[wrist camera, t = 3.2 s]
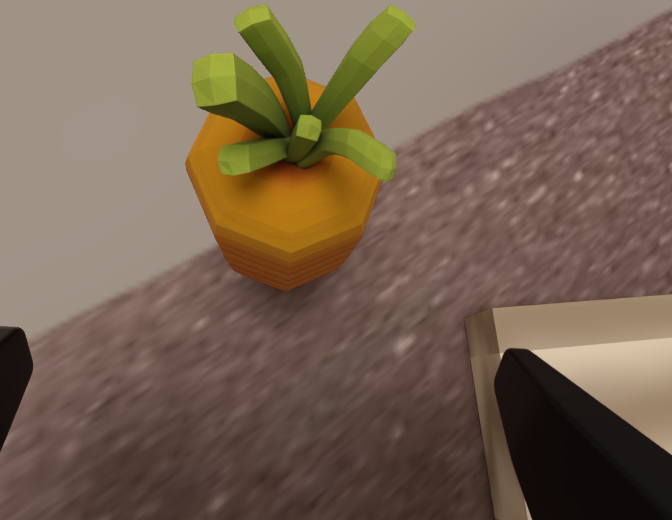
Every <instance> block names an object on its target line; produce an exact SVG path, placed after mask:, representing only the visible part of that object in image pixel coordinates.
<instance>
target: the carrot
mask: <svg viewBox="0 0 672 520" xmlns="http://www.w3.org/2000/svg"><path fill="white" fill-rule="evenodd" d="M234 24H235V26H236V28H237V30H238V32H239V33H240V35H241V36H242V37H243V39H244V40H245V41H246V43H247V44H248V45H249V47H250V48H251V49H252V51H253V52H254V53H255V55H256V56H257V57H258V59H259V60H260V61H261V62H262V64H263V65H264V66H265V67H266V69H267V70H268V71H269V72H270V74H271V75H272V77H269V78H266V79H263V78H262V77H261V76H260V75H259V73H257V71H256V70H255V69H254V68H253V67H252V66H250V65H249V64H247V63H246V62H244V61H243V60H242V59H240V58H239V57H238V56H236V55H235V54H233V53H226V54H209V55H207V56H205V57H202V58H200V59H198V60H195V61H194V63H193V74H192V88H193V92H194V96H195V100H196V104H197V107H199V108H201V109H203V110H206V111H208V112H210V113H209V115H208V117H207V119H206V121H205V123H204V125H203V127H202V129H201V131H200V133H199V135H198V137H197V139H196V141H195V142H194V144H193V146H192V148H191V150H190V152H189V154H188V157H187V160H186V163H185V164H186V170H187V173H188V175H189V178H190V180H191V182H192V184H193V187H194V189H195V191H196V194H197V196H198V199H199V201H200V203H201V206H202V208H203V210H204V213H205V215H206V218H207V220H208V222H209V225H210V227H211V229H212V232H213V234H214V237H215V239H216V241H217V243H218V245H219V247H220V249H221V251H222V253H223V255H224V257H225V258H226V260H227V261H228V263H229V264H230V266H231V267H232V269H233V270H234V271H236V272H238V273H239V274H241V275H243V276H246V277H249V278H251V279H254V280H256V281H259V282H262V283H264V284H267V285H269V286H272V287H275V288H277V289H280V290H282V291H285V292H286V291H289V290H291V289H293V288H296V287H298V286H300V285H303V284H305V283H307V282H310V281H312V280H314V279H317V278H319V277H321V276H324V275H326V274H328V273H330V272H332V271H335V270H337V269H338V268H339V267H340V266H341V265H342V264H343V262H344V261H345V260H346V259H347V258H348V257H349V255H350V254H351V252H352V251H353V249H354V248H355V246H356V245H357V244H358V242H359V241H360V239H361V237H362V235H363V232H364V229H365V226H366V224H367V221H368V218H369V216H370V213H371V210H372V207H373V205H374V202H375V199H376V197H377V194H378V191H379V188H380V186H381V183H382V181H386V182H388V181H390V180H392V179H393V176H394V173H395V170H396V154H395V153H394V152H393V151H392V150H390V149H389V148H388V147H387V146H386V145H384V144H383V143H381V142H379V141H378V140H376V139H375V137H374V135H373V133H372V131H371V129H370V127H369V125H368V123H367V121H366V119H365V117H364V115H363V113H362V111H361V109H360V107H359V105H358V104H357V102H356V100H355V98H354V96H355V95H356V94H357V93H358V92H359V91H360V90H361V88H362V87H363V86H364V85H365V84H366V83H367V81H369V79H370V78H371V77H372V76H373V75H374V74H375V73H376V71H377V70H378V69H379V68H380V67H381V66H382V65H383V64H384V63H385V61H387V59H388V58H389V57H390V56H391V55H392V54H393V53H394V52H395V51H396V50H397V49H398V48H399V47H400V46H401V45H402V44H403V43H404V41H405V40H406V39H407V37H408V36H409V35H410V33H411V32H412V31H413V30H414V28H415V27H416V23H415V21H413V20H412V19H411V18H410V17H409V16H408V15H407V14H406V13H405V12H404V11H402V10H400V9H398V8H396V7H395V6H392V5H390V6H388V7H387V8H386V9H385V10H384V11H383V12H382V13H381V14H380V15H378V16H377V17H376V18H375V19H374V20H372V21H371V22H370V24H369V25H368V26H367V27H366V29H365V30H364V31H363V32H362V34H361V35H360V36H359V37H358V38H357V40H356V41H355V42H354V43H353V45H352V46H351V48H350V49H349V51H348V52H347V54H346V56H345V57H344V59H343V60H342V62H341V64H340V65H339V67H338V68H337V70H336V72H335V73H334V75H333V77H332V78H331V80H330V81H329V83H328V85H327V86H323V85H321V84H318V83H316V82H313V81H310V80H308V79H306V77H305V73H304V69H303V65H302V61H301V59H300V57H299V55H298V53H297V52H296V50H295V48H294V46H293V44H292V42H291V40H290V38H289V37H288V35H287V33H286V32H285V30H284V28H283V27H282V26H281V24H280V23H279V21H278V20H277V19H276V17H275V16H274V14H273V13H272V12H271V10H270V9H269V7H268V6H267V5H266V4H263V5H258V6H253V7H249V8H247V9H246V10H244V11H243V12H242V13H240V14H239V15H237V16H236V17H235V20H234Z"/></svg>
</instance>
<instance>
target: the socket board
mask: <svg viewBox="0 0 672 520" xmlns="http://www.w3.org/2000/svg"><path fill="white" fill-rule="evenodd" d="M464 321H465V327H466V334H467V340H468V347H469V353H470V360H471V366H472V373H473V379H474V386H475V392H476V399H477V405H478V412H479V418H480V425H481V431H482V438H483V444H484V451H485V457H486V464H487V470H488V477H489V483H490V490H491V496H492V503H493V509H494V516H495V520H532V518H531V515H530V513H529V510H528V507H527V504H526V501H525V499H524V496H523V493H522V490H521V487H520V485H519V482H518V479H517V476H516V473H515V470H514V467H513V464H512V461H511V458H510V454H509V450H508V446H507V442H506V438H505V433H504V429H503V425H502V421H501V417H500V412H499V408H498V404H497V400H496V396H495V391H494V378H495V375H496V372H497V370H498V367H499V364H500V361H501V359H502V356H503V354H504V352H505V350H506V349H508V348H524V349H528V350H530V351H532V352H533V353H534V354H536V355H537V356H538V357H540V358H541V359H542V360H544V361H545V362H547V363H548V364H549V365H551V366H552V367H553V368H555V369H556V370H557V371H559V372H560V373H561V374H563V375H564V376H566V377H567V378H568V379H570V380H571V381H572V382H574V383H575V384H576V385H578V386H579V387H580V388H582V389H583V390H585V391H586V392H587V393H589V394H590V395H591V396H593V397H594V398H595V399H597V400H598V401H599V402H601V403H602V404H603V405H605V406H606V407H608V408H609V409H610V410H612V411H613V412H614V413H616V414H617V415H618V416H620V417H621V418H622V419H624V420H625V421H627V422H628V423H629V424H631V425H632V426H633V427H635V428H636V429H637V430H639V431H640V432H641V433H643V434H644V435H646V436H647V437H648V438H650V439H651V440H652V441H654V442H655V443H656V444H658V445H659V446H660V447H662V448H663V449H665V450H666V451H667V452H669V453H670V454H671V455H672V294H671V295H658V296H645V297H632V298H620V299H607V300H594V301H581V302H568V303H555V304H542V305H529V306H516V307H503V308H492V309H489V310H486V311H483V312H481V313H478V314H475V315H472V316H469V317H466V318H464Z"/></svg>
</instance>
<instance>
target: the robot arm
mask: <svg viewBox="0 0 672 520" xmlns="http://www.w3.org/2000/svg"><path fill="white" fill-rule="evenodd" d="M32 371H33V360H32V356H31V353H30V349H29V346H28V342H27V338H26V335H25V332H24V331H23V330H22V329H21V328H19V327H7V326H0V451H1V449H2V447H3V444H4V442H5V440H6V437H7V435H8V432H9V430H10V427H11V425H12V422H13V420H14V417H15V415H16V412H17V410H18V407H19V405H20V402H21V400H22V397H23V395H24V392H25V390H26V387H27V385H28V382H29V380H30V377H31V375H32ZM494 391H495V396H496V400H497V404H498V408H499V412H500V417H501V421H502V425H503V429H504V433H505V438H506V442H507V446H508V450H509V454H510V458H511V461H512V464H513V467H514V470H515V473H516V476H517V479H518V482H519V485H520V487H521V490H522V493H523V496H524V499H525V501H526V504H527V507H528V510H529V513H530V515H531V518H532V520H672V455H671V454H670V453H669V452H667V451H666V450H665V449H663V448H662V447H660V446H659V445H658V444H656V443H655V442H654V441H652V440H651V439H650V438H648V437H647V436H646V435H644V434H643V433H641V432H640V431H639V430H637V429H636V428H635V427H633V426H632V425H631V424H629V423H628V422H627V421H625V420H624V419H622V418H621V417H620V416H618V415H617V414H616V413H614V412H613V411H612V410H610V409H609V408H608V407H606V406H605V405H603V404H602V403H601V402H599V401H598V400H597V399H595V398H594V397H593V396H591V395H590V394H589V393H587V392H586V391H585V390H583V389H582V388H580V387H579V386H578V385H576V384H575V383H574V382H572V381H571V380H570V379H568V378H567V377H566V376H564V375H563V374H561V373H560V372H559V371H557V370H556V369H555V368H553V367H552V366H551V365H549V364H548V363H547V362H545V361H544V360H542V359H541V358H540V357H538V356H537V355H536V354H534V353H533V352H532V351H530V350H528V349H524V348H508V349H506V350H505V352H504V354H503V356H502V359H501V361H500V364H499V367H498V370H497V372H496V375H495V378H494Z"/></svg>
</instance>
